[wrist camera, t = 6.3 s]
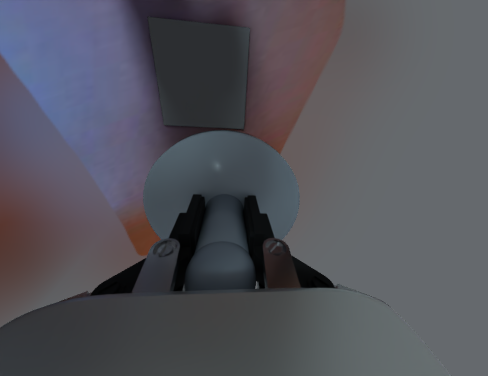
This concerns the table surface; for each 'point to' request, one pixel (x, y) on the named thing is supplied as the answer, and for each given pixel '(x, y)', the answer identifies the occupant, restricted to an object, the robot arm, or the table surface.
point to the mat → (200, 72)
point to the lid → (221, 201)
